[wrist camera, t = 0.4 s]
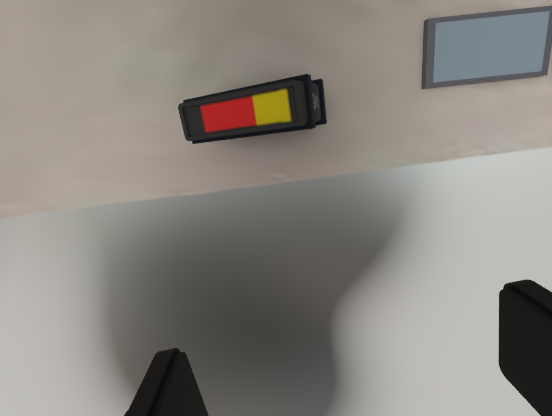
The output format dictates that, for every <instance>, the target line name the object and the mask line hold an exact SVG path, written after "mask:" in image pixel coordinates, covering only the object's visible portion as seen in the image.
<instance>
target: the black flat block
mask: <svg viewBox="0 0 552 416" xmlns="http://www.w3.org/2000/svg"><path fill="white" fill-rule="evenodd" d="M183 102H184V103H181V104H179V107H178V109H179V113H180V118H181V122H182V126H183V131H184V135H185V138H186V140H187V141H192V143H193V144H196V143H204V142H212V141H219V140H227V139H235V138H242V137H250V136H258V135H266V134H273V133H281V132H289V131H297V130H304V129H312V128H315V127H316V125H321V124H326V123H327V121H326V110H325V99H324V88H323V80H322V79H318V80H313V81H311V76H310V75H308V74H305V75H300V76H295V77H291V78H286V79H281V80H277V81H272V82H267V83H262V84H258V85H253V86H248V87H244V88H239V89H234V90H230V91H225V92H220V93H216V94H211V95H206V96H202V97H197V98H192V99H188V100H184V101H183Z"/></svg>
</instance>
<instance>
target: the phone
mask: <svg viewBox="0 0 552 416" xmlns="http://www.w3.org/2000/svg"><path fill="white" fill-rule="evenodd" d="M551 46H552V6H544V7H535V8H525V9H516V10H507V11H497V12H488V13H478V14H469V15H459V16H450V17H441V18H431V19H427V20H426V21H424V41H423V68H422V89H424V88H434V87H443V86H453V85H462V84H472V83H481V82H491V81H500V80H510V79H519V78H529V77H538V76H545V75H547V73H548V66H549V59H550V52H551Z"/></svg>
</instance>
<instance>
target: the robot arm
mask: <svg viewBox="0 0 552 416" xmlns="http://www.w3.org/2000/svg"><path fill="white" fill-rule="evenodd" d="M499 366H500V369H501V371H502V373H503V375H504V376H505V377H506V379H507V380H508V381H509V382H510V383H511V384H512V385H513V386H514V387H515V388H516V389H517V390H518V391H519V393H520V394H521V395H522V396H523V397H524V398H525V399H526V400H527V401H528V402H529V403H530V404H531V406H532V407H533V408H534V409H535V410H536V411H537V412H538V413H539V414H540V415H541V416H552V292H550V291H549V290H547V289H545V288H544V287H542V286H541V285H539V284H537V283H536V282H534V281H531V280H521V281H516V282H512V283H507V284H505V285H504V288H503V290H501V291H500V293H499ZM124 416H208V413H207V410H206V407H205V405H204V402H203V399H202V396H201V394H200V391H199V388H198V385H197V383H196V380H195V377H194V375H193V372H192V369H191V367H190V363H189V361H188V358H187V355H186V353H185V352H180V350H179V349H178V348H174V349H169V350H164V351H159V352H157V353H156V354H155V356H154V358H153V360H152V362H151V364H150V366H149V368H148V371H147V373H146V375H145V377H144V379H143V381H142V383H141V385H140V387H139V389H138V391H137V394H136V395H135V398H134V400H133V402H132V404H131V406H130V408H129V410H128V411H127V412H126V413H125V415H124Z"/></svg>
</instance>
